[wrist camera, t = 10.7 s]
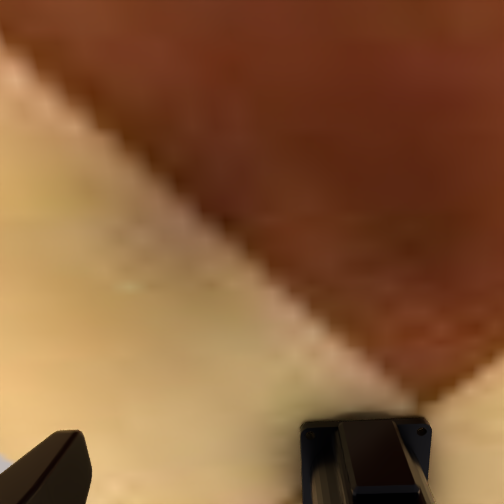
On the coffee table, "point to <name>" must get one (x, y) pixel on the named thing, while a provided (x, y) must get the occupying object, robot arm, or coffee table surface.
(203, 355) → the coffee table surface
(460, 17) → the coffee table surface
